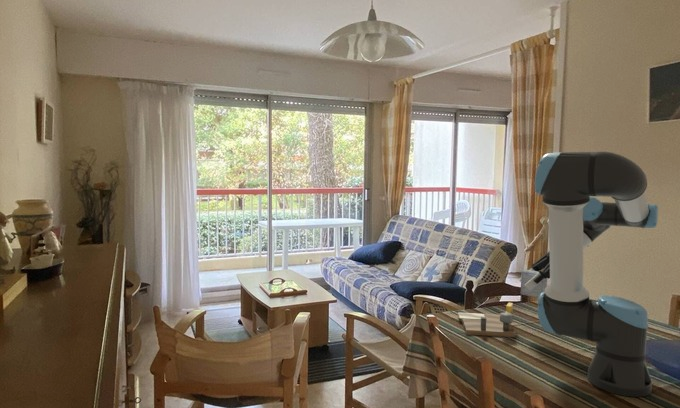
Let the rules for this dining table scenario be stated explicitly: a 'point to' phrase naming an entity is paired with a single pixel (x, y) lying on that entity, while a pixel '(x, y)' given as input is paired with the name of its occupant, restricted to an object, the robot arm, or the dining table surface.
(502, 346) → the dining table surface
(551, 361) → the dining table surface
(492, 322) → the lock plate
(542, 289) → the medicine box
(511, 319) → the latch arm
